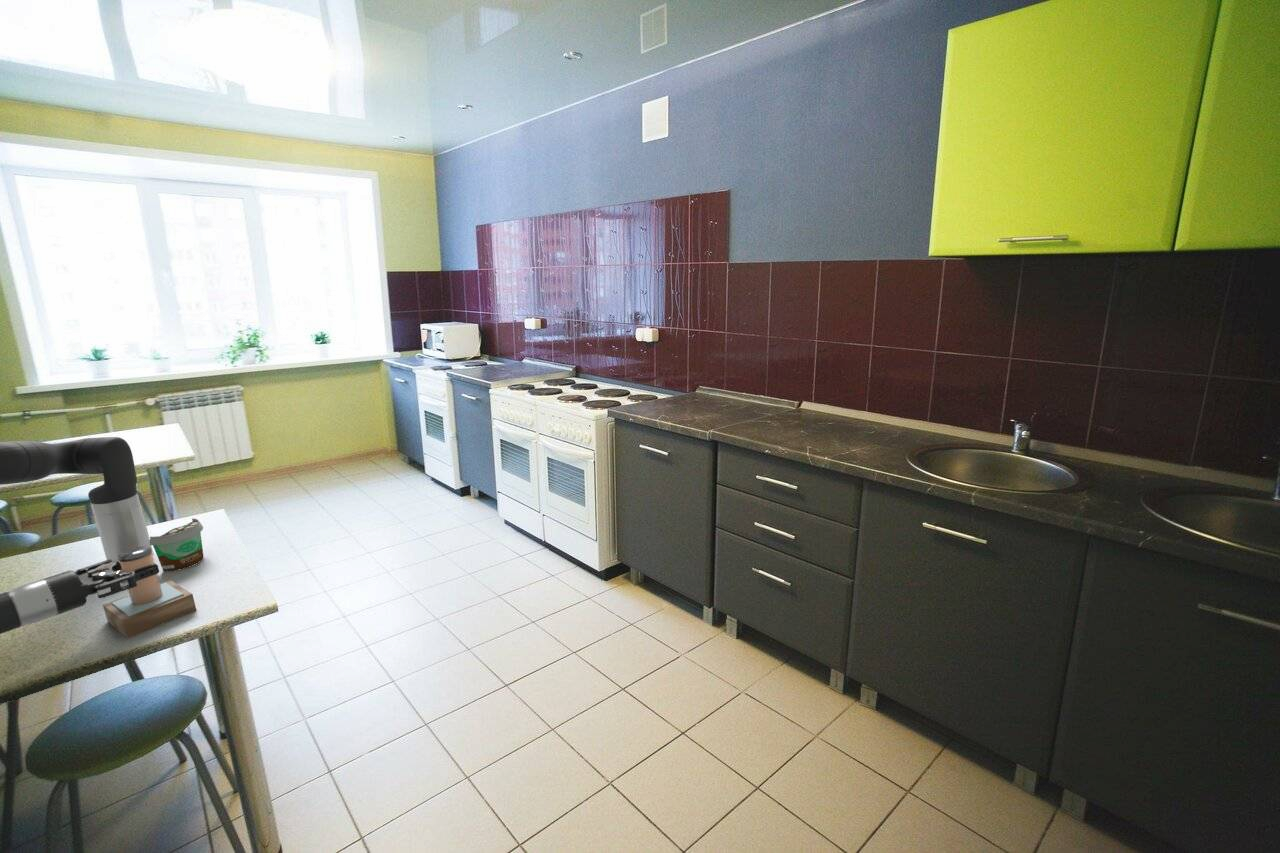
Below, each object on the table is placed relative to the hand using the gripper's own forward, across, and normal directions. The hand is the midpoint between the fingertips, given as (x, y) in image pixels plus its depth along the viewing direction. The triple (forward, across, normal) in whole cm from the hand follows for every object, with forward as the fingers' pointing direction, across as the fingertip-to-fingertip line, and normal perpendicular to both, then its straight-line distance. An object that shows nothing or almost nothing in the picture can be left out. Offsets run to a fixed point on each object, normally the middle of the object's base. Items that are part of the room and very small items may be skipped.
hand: (150, 562), depth 125 cm
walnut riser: (-2, 0, +12) cm, 12 cm away
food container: (+13, +22, +12) cm, 28 cm away
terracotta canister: (-2, 0, +8) cm, 8 cm away
